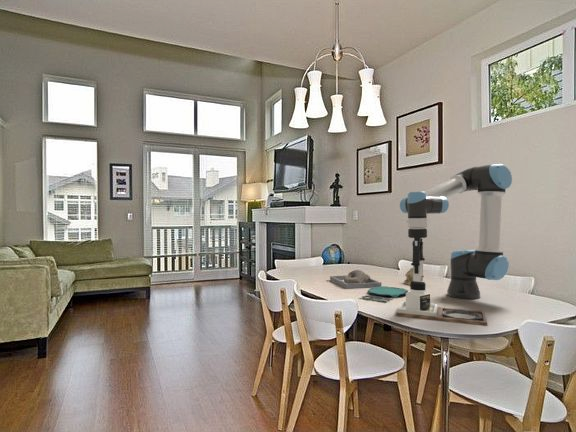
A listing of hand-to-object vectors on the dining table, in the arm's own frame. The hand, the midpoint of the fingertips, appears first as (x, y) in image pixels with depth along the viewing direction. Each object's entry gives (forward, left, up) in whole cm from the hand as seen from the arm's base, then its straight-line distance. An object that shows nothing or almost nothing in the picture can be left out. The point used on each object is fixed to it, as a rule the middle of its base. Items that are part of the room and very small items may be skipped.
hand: (418, 278), depth 159 cm
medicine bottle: (0, 0, -13) cm, 13 cm away
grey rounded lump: (+1, -65, -15) cm, 66 cm away
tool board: (-6, +5, -14) cm, 17 cm away
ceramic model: (-33, -57, -15) cm, 68 cm away
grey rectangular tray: (+1, -68, -14) cm, 69 cm away
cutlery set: (-1, -34, -15) cm, 37 cm away
